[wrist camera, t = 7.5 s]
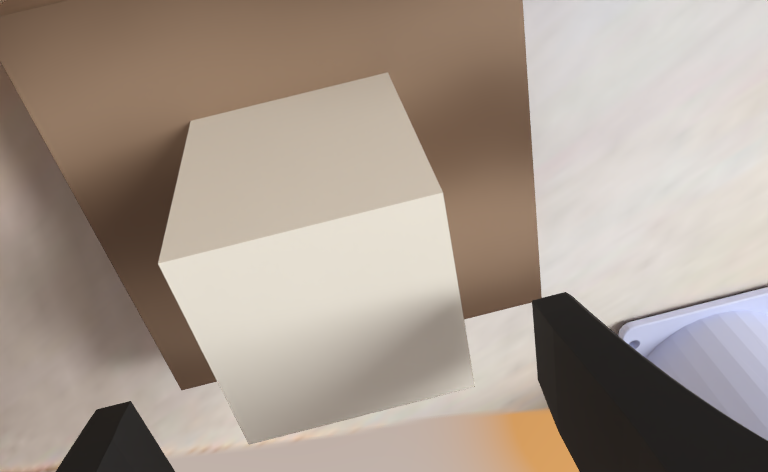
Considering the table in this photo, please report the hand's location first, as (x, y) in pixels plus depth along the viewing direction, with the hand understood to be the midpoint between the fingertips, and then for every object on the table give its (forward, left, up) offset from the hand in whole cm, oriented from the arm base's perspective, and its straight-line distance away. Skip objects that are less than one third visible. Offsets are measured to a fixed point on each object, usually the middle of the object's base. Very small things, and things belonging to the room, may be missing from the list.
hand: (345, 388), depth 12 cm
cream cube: (0, 0, -7) cm, 7 cm away
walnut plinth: (0, 0, -10) cm, 10 cm away
